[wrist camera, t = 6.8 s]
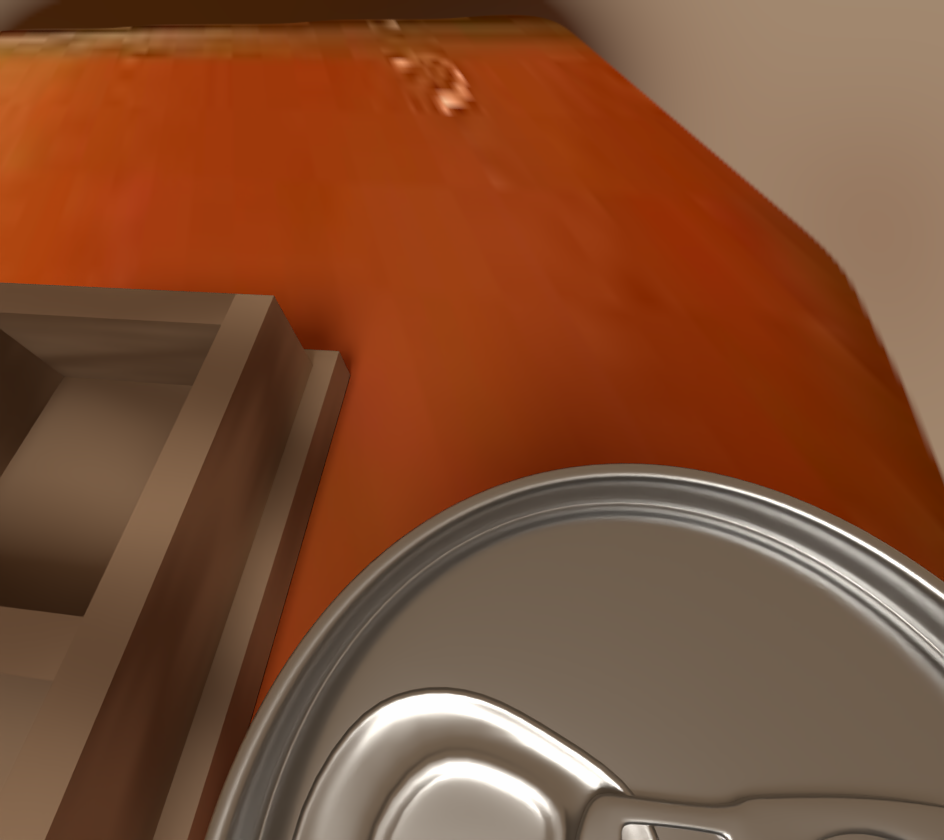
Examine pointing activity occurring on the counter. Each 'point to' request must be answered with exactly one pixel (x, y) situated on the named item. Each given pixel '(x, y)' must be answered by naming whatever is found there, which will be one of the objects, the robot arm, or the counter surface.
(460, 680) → the can
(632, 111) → the counter surface
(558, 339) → the counter surface
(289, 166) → the counter surface
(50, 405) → the tray
